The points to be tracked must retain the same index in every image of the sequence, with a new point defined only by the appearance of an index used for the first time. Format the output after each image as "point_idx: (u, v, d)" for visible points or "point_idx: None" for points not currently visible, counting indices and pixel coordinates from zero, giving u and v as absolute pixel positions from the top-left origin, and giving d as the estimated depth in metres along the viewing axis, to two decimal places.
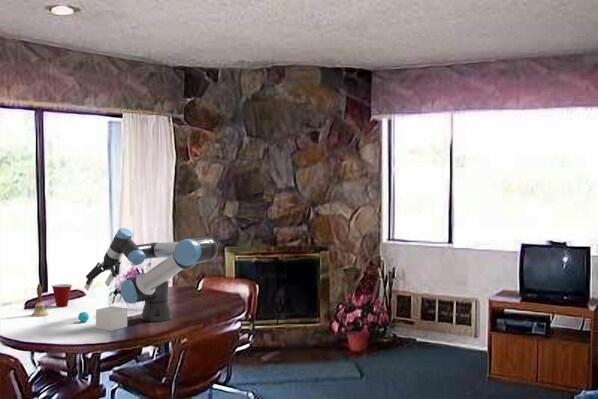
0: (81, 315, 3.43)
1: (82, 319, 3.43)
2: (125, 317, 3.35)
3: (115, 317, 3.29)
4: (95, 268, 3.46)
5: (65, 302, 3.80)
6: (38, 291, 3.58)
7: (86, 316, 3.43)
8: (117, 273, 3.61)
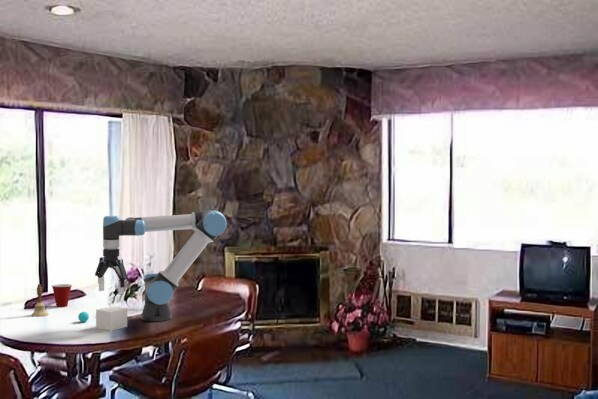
0: (81, 315, 3.43)
1: (82, 319, 3.43)
2: (125, 317, 3.35)
3: (115, 317, 3.29)
4: (121, 266, 3.29)
5: (65, 302, 3.80)
6: (38, 291, 3.58)
7: (86, 316, 3.43)
8: None
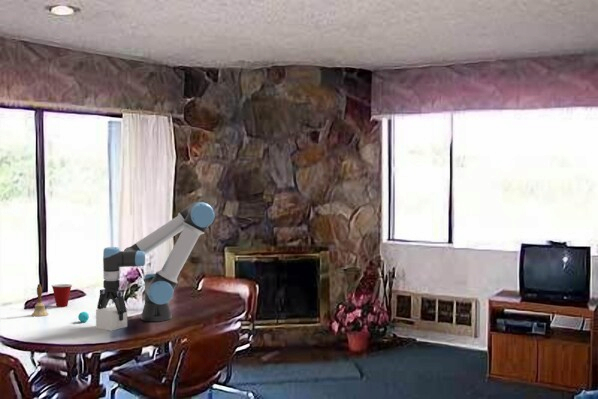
0: (81, 315, 3.43)
1: (82, 319, 3.43)
2: (125, 317, 3.35)
3: (115, 317, 3.29)
4: (121, 299, 3.29)
5: (65, 302, 3.80)
6: (38, 291, 3.58)
7: (86, 316, 3.43)
8: None
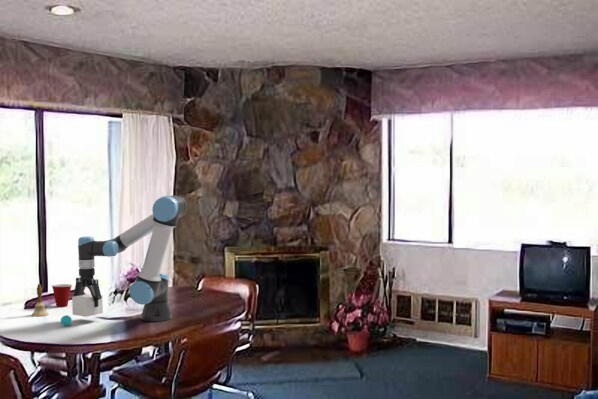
0: (70, 318, 3.38)
1: (68, 316, 3.36)
2: (100, 304, 3.47)
3: (90, 304, 3.41)
4: (96, 286, 3.42)
5: (65, 302, 3.80)
6: (38, 291, 3.58)
7: (70, 321, 3.35)
8: None
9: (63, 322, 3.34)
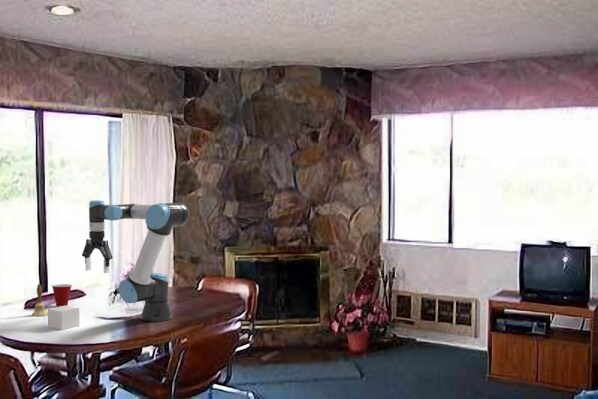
0: None
1: None
2: (77, 316, 3.35)
3: (66, 316, 3.30)
4: (106, 246, 3.54)
5: (65, 302, 3.80)
6: (38, 291, 3.58)
7: None
8: None
9: None
